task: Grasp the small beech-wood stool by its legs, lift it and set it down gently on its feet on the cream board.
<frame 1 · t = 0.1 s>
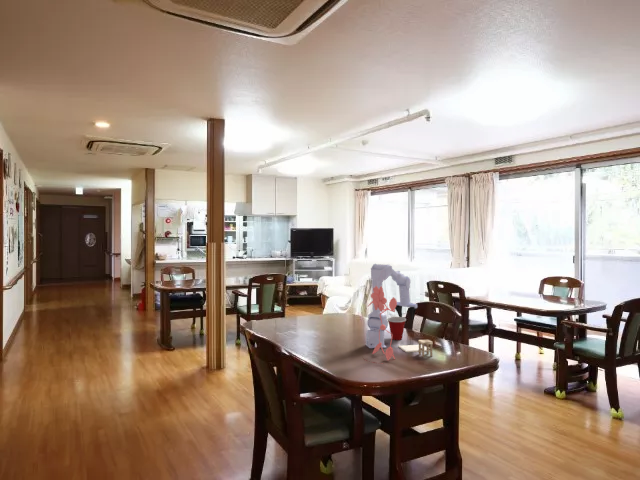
hand: (406, 318, 259), 11 cm above the table, tool pointing down, fingers open, 7 cm apart
board: (414, 349, 229), on the table
plastic cup: (396, 339, 251), on the table
figurine: (377, 358, 211), on the table
stool: (425, 355, 217), on the table
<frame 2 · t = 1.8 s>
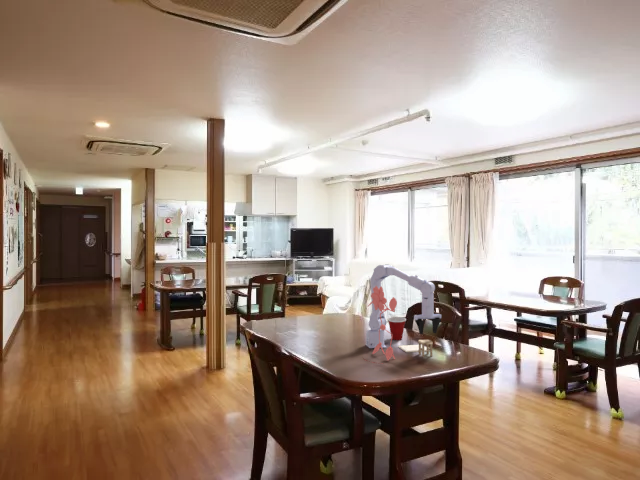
hand: (427, 333, 219), 10 cm above the table, tool pointing down, fingers open, 7 cm apart
nothing on the table moved.
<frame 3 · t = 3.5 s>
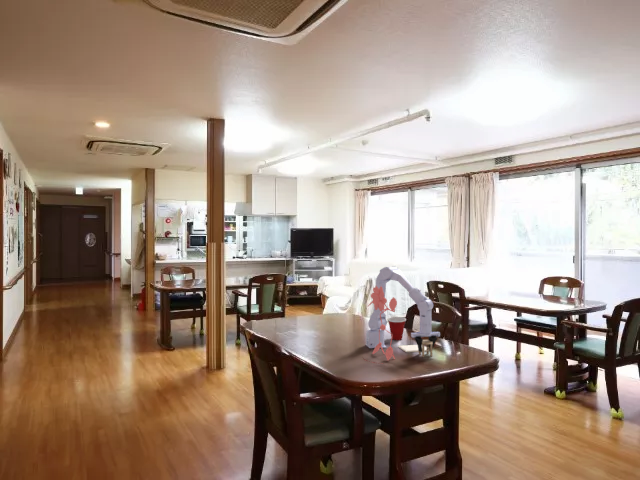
hand: (425, 351, 217), 2 cm above the table, tool pointing down, fingers closed on stool, 5 cm apart
stool: (425, 355, 217), on the table, touching gripper
everything else where it was.
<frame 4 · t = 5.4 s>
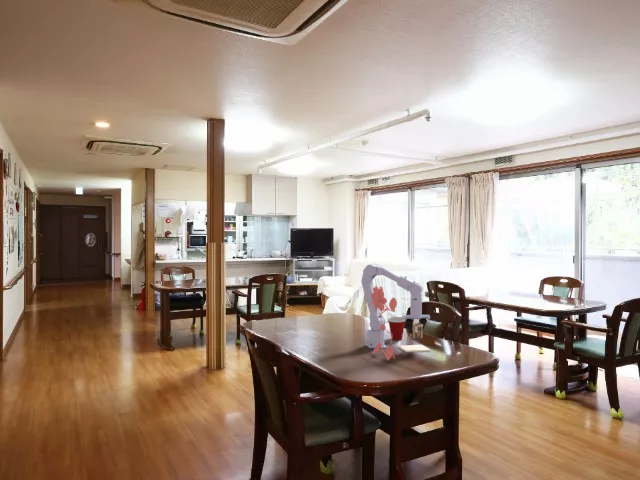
hand: (415, 333, 226), 9 cm above the table, tool pointing down, fingers closed on stool, 5 cm apart
stool: (416, 337, 226), point 7 cm above the table, touching gripper
everything else where it was.
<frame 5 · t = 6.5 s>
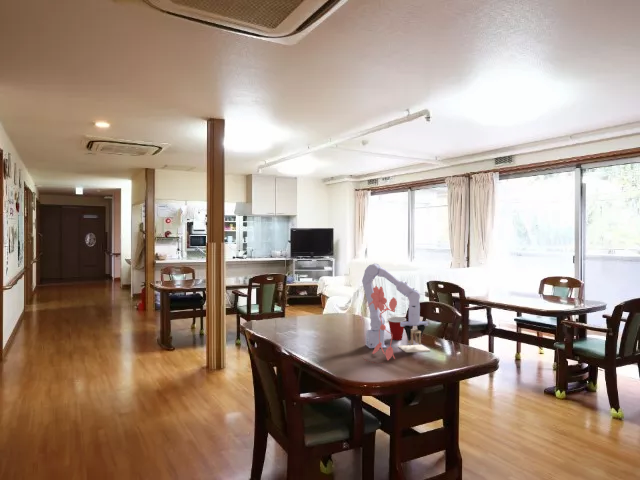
hand: (414, 339, 229), 5 cm above the table, tool pointing down, fingers closed on stool, 5 cm apart
stool: (414, 343, 228), point 3 cm above the table, touching gripper
everything else where it was.
when the fingers open (4 cm above the table, at t = 7.3 s): stool drops 1 cm, resting on board.
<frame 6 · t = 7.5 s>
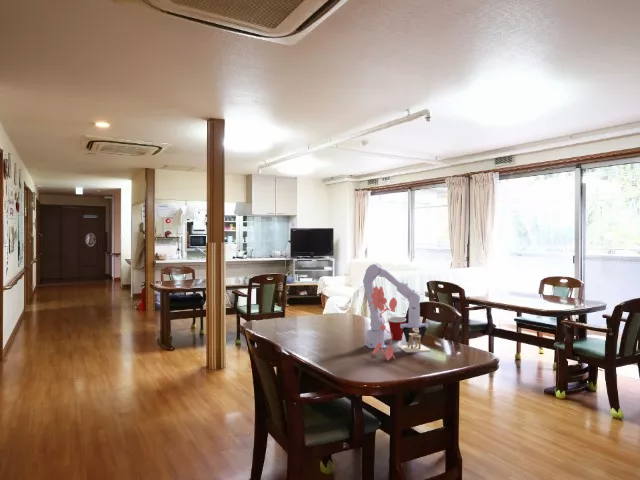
hand: (414, 341, 229), 4 cm above the table, tool pointing down, fingers open, 7 cm apart
stool: (414, 347, 229), point 1 cm above the table, touching board
everything else where it was.
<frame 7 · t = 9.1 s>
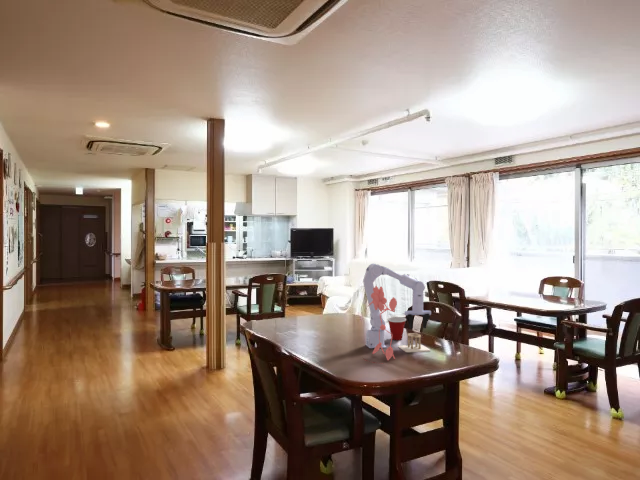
hand: (417, 328, 236), 9 cm above the table, tool pointing down, fingers open, 7 cm apart
nothing on the table moved.
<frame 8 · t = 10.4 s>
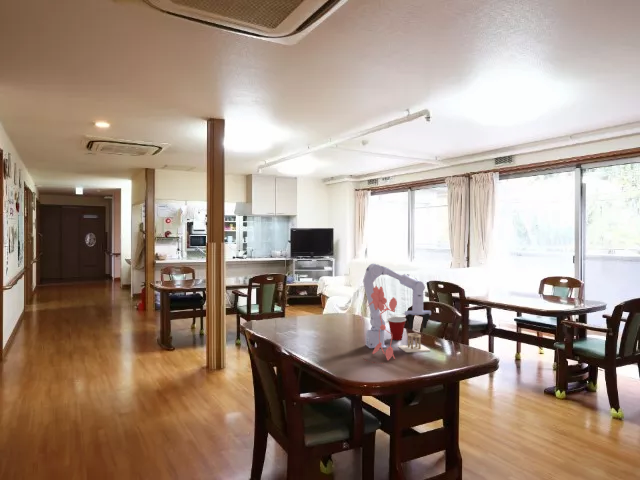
hand: (417, 328, 236), 9 cm above the table, tool pointing down, fingers open, 7 cm apart
nothing on the table moved.
at the end: stool inside the target area on the board (0.1 cm from its centre), point 0.8 cm above the board's base; stool tilted 0°; the gripper is holding nothing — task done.
